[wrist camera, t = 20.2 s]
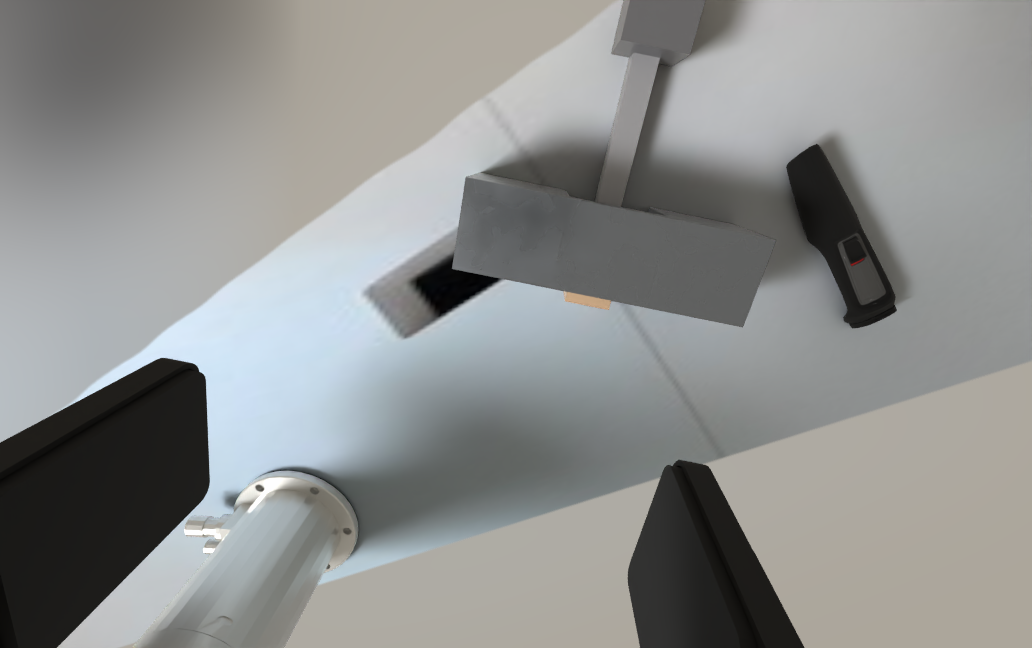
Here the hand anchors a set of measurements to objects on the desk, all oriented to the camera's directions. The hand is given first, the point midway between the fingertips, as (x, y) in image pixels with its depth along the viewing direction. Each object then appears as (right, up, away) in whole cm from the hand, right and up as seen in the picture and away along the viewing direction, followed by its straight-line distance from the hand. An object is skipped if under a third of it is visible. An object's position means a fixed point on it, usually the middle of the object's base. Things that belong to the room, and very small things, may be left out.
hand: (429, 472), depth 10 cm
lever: (+9, +16, +26) cm, 32 cm away
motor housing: (+8, +10, +28) cm, 31 cm away
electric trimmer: (+26, +10, +28) cm, 39 cm away
